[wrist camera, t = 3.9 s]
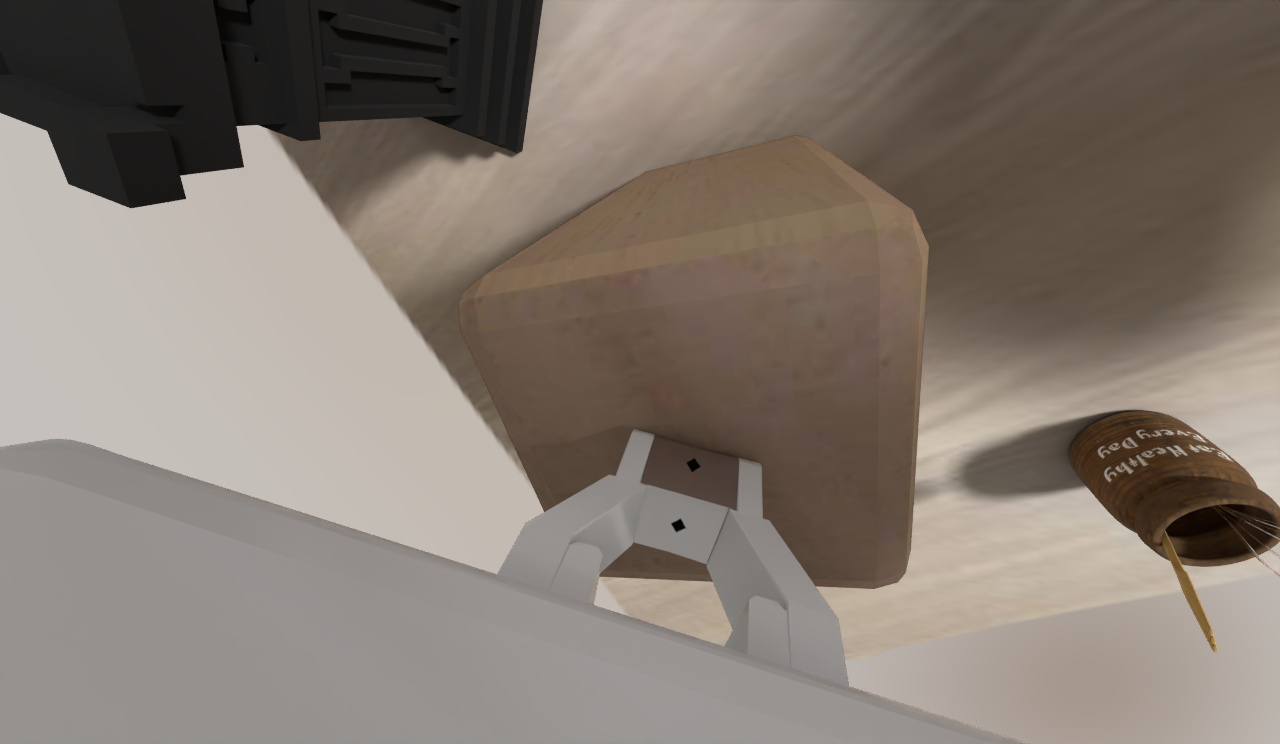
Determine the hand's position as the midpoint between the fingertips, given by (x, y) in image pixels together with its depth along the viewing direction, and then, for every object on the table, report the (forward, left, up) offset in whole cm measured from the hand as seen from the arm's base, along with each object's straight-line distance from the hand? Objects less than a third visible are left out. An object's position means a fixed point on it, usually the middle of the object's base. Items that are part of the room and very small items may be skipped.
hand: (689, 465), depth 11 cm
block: (0, 0, -20) cm, 20 cm away
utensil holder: (-27, +7, -20) cm, 34 cm away
